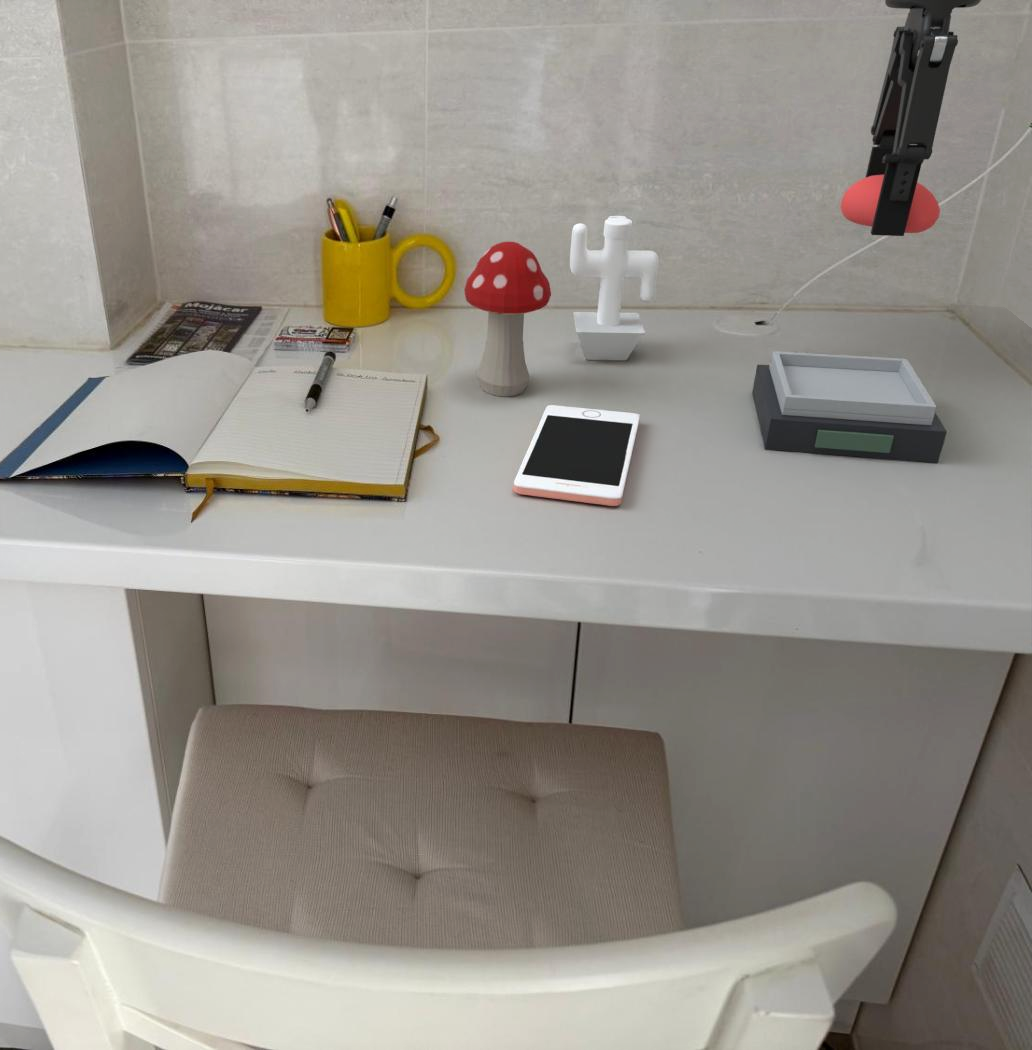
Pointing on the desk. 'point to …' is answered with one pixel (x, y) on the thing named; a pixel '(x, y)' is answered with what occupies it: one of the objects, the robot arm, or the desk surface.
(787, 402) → the scale
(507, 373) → the decorative mushroom
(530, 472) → the cell phone
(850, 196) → the stress ball
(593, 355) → the figurine
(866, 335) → the desk surface
